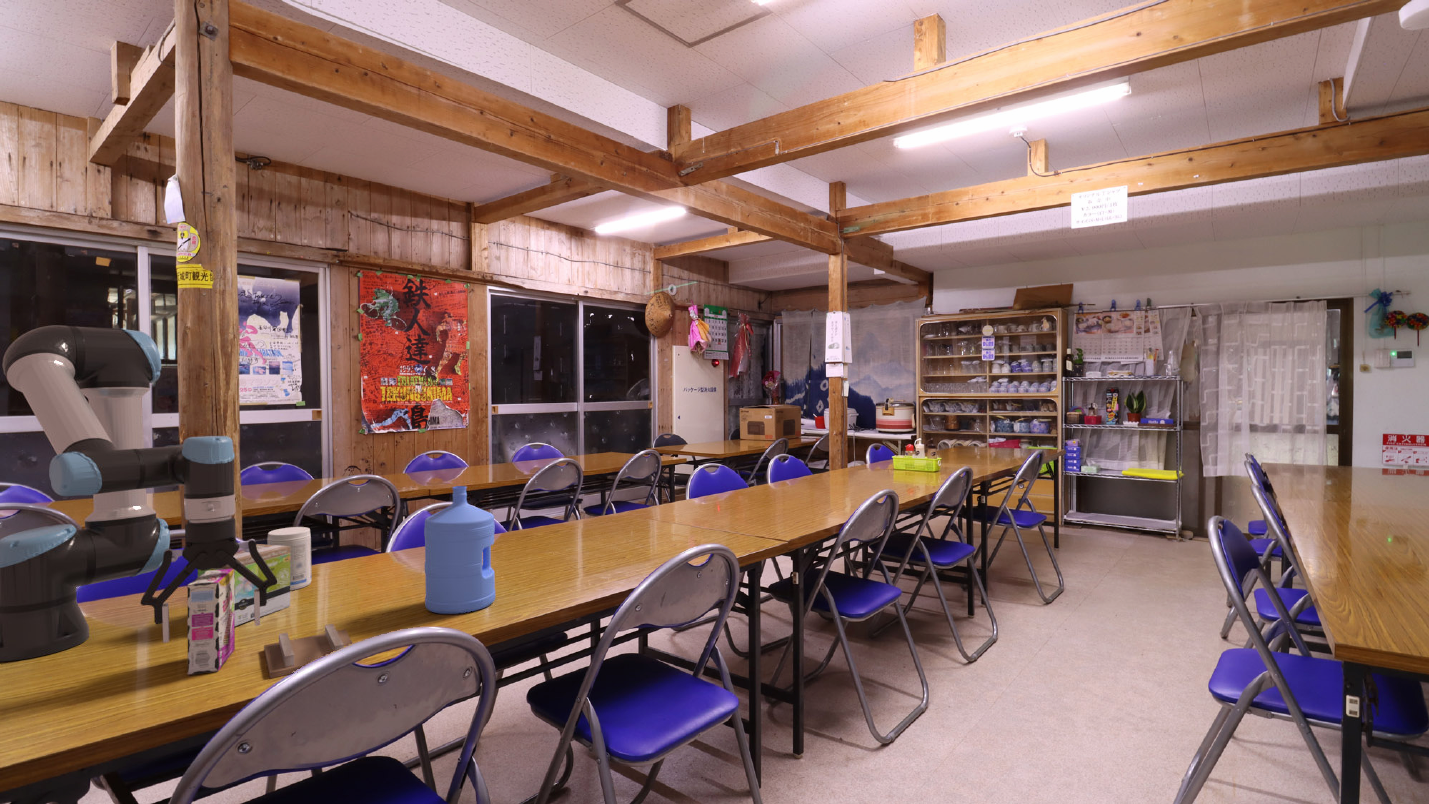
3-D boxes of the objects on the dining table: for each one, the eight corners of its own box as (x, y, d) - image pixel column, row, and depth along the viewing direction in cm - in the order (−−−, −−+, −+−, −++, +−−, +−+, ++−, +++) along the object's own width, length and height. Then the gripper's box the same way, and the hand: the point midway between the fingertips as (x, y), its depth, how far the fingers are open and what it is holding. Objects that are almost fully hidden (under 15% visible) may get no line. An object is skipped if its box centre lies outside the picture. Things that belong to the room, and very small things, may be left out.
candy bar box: (220, 671, 120) (219, 582, 120) (186, 676, 118) (184, 585, 118) (237, 649, 130) (235, 566, 130) (206, 653, 128) (204, 569, 128)
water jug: (438, 620, 146) (437, 494, 146) (416, 603, 158) (414, 486, 158) (506, 605, 157) (505, 487, 156) (480, 590, 168) (479, 480, 168)
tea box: (234, 629, 142) (233, 560, 142) (196, 625, 144) (194, 558, 144) (292, 606, 157) (291, 544, 156) (256, 603, 159) (255, 542, 158)
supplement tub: (279, 582, 176) (278, 527, 176) (318, 580, 178) (317, 525, 177) (260, 593, 167) (259, 535, 166) (301, 591, 168) (300, 533, 168)
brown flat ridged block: (269, 678, 117) (269, 661, 117) (264, 650, 130) (264, 635, 130) (358, 658, 126) (358, 643, 126) (345, 634, 138) (344, 619, 138)
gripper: (118, 531, 113) (122, 654, 113) (291, 513, 128) (293, 622, 129) (123, 524, 119) (126, 641, 119) (287, 508, 134) (290, 612, 135)
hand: (213, 632), depth 124 cm, fingers open, 13 cm apart
